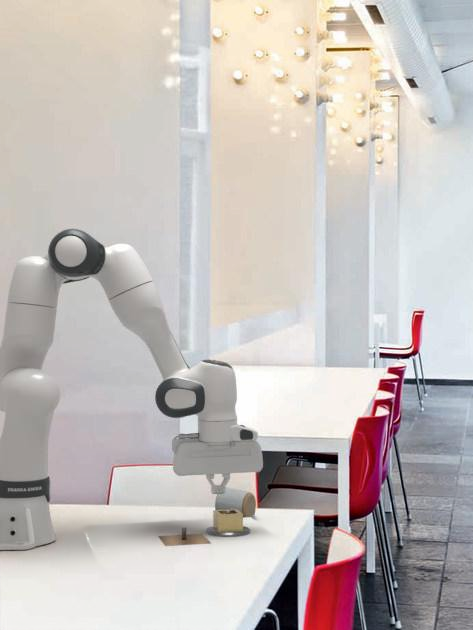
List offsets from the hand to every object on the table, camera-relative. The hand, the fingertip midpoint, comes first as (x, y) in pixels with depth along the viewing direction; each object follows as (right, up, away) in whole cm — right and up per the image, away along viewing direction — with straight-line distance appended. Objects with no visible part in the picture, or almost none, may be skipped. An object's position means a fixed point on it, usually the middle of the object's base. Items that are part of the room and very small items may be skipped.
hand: (218, 493), depth 249 cm
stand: (-7, -10, -7) cm, 14 cm away
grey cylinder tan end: (+4, -10, +23) cm, 26 cm away
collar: (+2, -8, 0) cm, 9 cm away
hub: (+2, -10, +1) cm, 11 cm away
